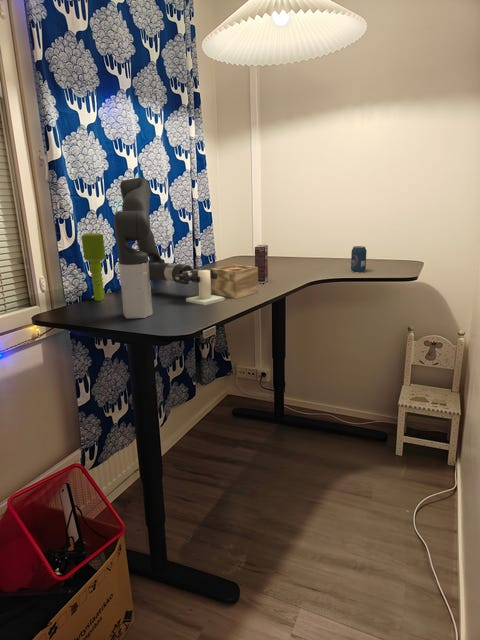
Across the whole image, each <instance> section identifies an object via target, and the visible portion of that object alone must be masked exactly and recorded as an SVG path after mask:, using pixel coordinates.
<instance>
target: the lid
mask: <svg viewBox="0 0 480 640" xmlns="http://www.w3.org/2000/svg"><path fill="white" fill-rule="evenodd" d="M198 270H199V271H198V276H199V277H200V282H199V283H198V295H196V296H191V297H186V298H185V301H186V302H187V303H192V304H197V305H202V306H208V305H211V304H214V303H218V302H222V301H225V299H226V298H225V296H220V295H214V294H212V292H211V278H210V270H211V269H203V270H201V269H198Z"/></svg>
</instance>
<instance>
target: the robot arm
mask: <svg viewBox="0 0 480 640" xmlns="http://www.w3.org/2000/svg"><path fill="white" fill-rule="evenodd" d="M119 184H120V185H119V189H120V193H121V198H122V200H123V201H122V204H121V205H122V207H121V208H122V209H121V210H120V211H116V212H115V213H114V217H113V227H114V233H115V241H116V245H117V246H116V247H117V256H118V269H119V279H120V287H121V288H120V289H121V299H122V309H123V316H124V318H125V319H146V318H148V317H151V316H152V315H153V303H152V291H151V281H164V282H165V281H166V282H170V283H174V284H178V285H186V286H187V285H188V284H190V283H197V284H199V282H200V277H199V276H198V271H199V270H204V269H198V270H197V269H193V268H192V266H191V265H189V264H184V263H183V264H182V263H169V262H164V261H163V259H162V257H161V255H160V253H159V251H158V249H157V245H156V240H155V236H154V234H153V233H154V232H153V231H152V230H151V221H150V199H151V187H150V184H149V182H148V179H146V178H145V177H135V178H129V179H124V180H121V181H120V183H119ZM128 242H136V244H137V248H138V249H135V248H133V247H132V246H130V245H129V244H128ZM149 259H150V261H149ZM209 270H210V280H211V279H217V273H213V271H212V270H211V269H209Z"/></svg>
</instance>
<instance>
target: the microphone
mask: <svg viewBox="0 0 480 640" xmlns="http://www.w3.org/2000/svg"><path fill="white" fill-rule="evenodd" d="M81 242H82V253H83V259H84V260H85V261H87V262H89V268H90V273H91V274H90V276H91V284H92V289H93V296H94V298H93V299H94V301H104V300H105V293H104V285H103V284H104V281H103V273H102V271H103V267H102V263H101V262H102V261H103V260H104V259H106V252H105V242H104V235H103V234H102V233H100V232H99V233H97V232H95V233H84V234H82V235H81ZM103 299H104V300H103Z"/></svg>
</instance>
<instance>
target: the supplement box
mask: <svg viewBox="0 0 480 640" xmlns="http://www.w3.org/2000/svg"><path fill="white" fill-rule="evenodd" d="M268 249H269V245H268V244H258V245H256V246H254V267H258V283H265V284H266V283H267V282H266V281H267V280H269V269H268V268H269V267H268V266H269V265H268V263H269V261H268V260H269V251H268Z"/></svg>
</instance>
